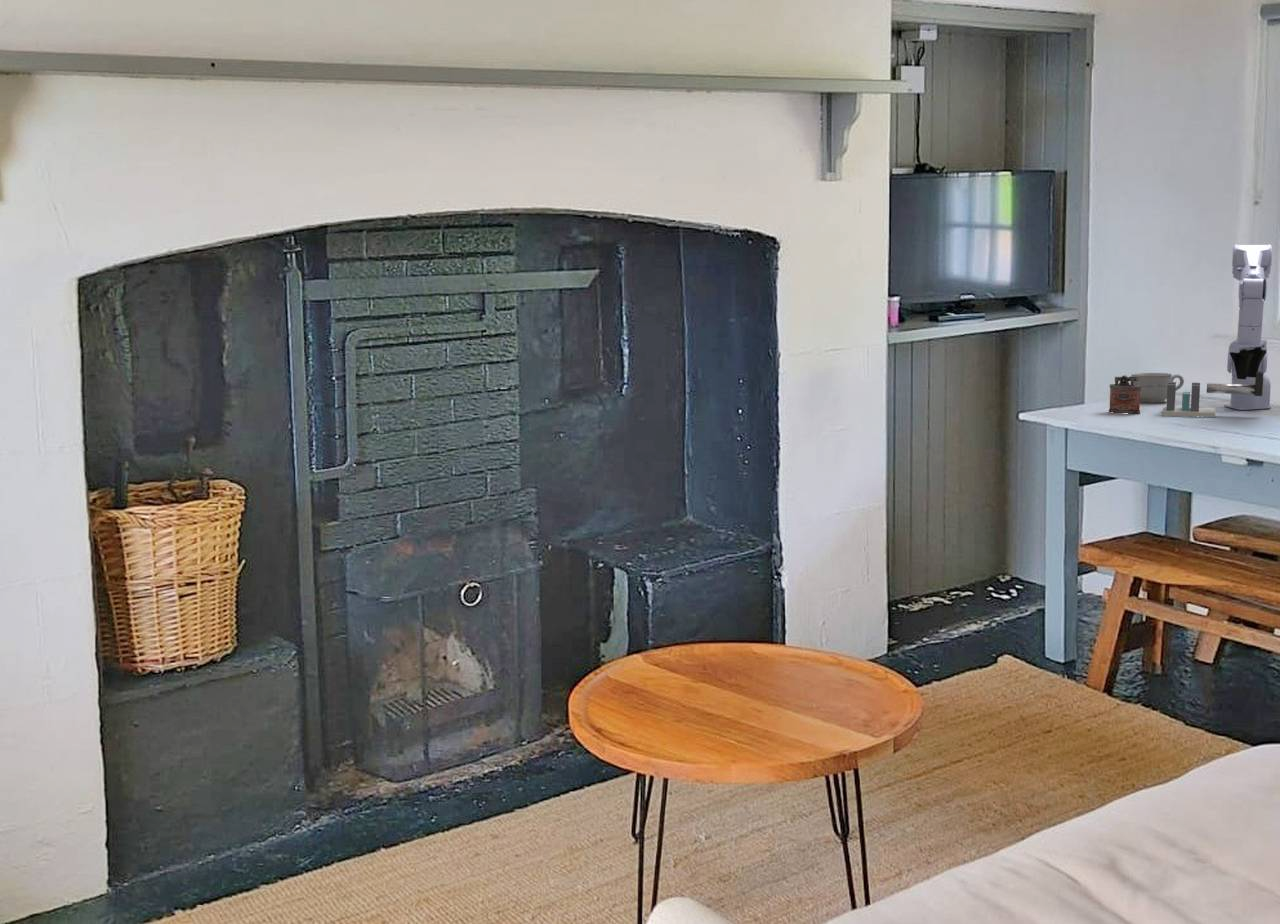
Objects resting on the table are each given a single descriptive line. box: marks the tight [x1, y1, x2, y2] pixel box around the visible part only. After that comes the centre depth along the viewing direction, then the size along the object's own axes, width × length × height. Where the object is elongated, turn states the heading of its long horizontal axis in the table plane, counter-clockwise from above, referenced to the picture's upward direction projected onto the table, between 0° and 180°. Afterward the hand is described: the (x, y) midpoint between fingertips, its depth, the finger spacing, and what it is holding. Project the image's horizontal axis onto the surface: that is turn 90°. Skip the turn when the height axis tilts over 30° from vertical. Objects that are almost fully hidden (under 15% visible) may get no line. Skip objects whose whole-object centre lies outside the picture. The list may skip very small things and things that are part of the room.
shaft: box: [1206, 372, 1264, 396], centre depth 405 cm, size 14×2×6 cm, turn 70°
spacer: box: [1181, 391, 1191, 411], centre depth 410 cm, size 2×4×4 cm, turn 160°
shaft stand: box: [1161, 381, 1216, 418], centre depth 410 cm, size 13×9×8 cm
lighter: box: [1108, 374, 1141, 415], centre depth 413 cm, size 8×3×10 cm, turn 62°
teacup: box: [1131, 372, 1185, 403], centre depth 432 cm, size 14×11×8 cm
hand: (1246, 378), depth 402 cm, fingers open, 4 cm apart
